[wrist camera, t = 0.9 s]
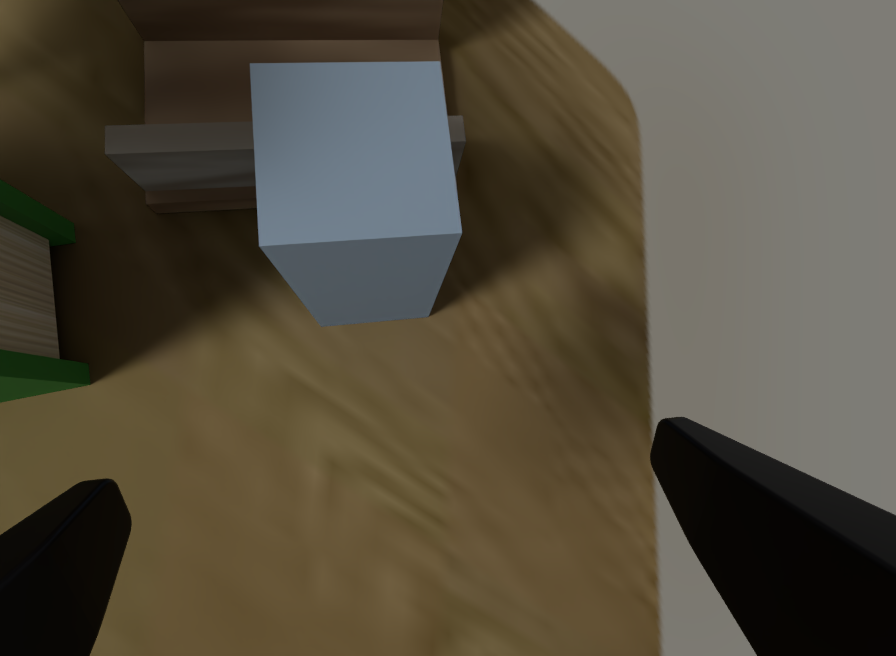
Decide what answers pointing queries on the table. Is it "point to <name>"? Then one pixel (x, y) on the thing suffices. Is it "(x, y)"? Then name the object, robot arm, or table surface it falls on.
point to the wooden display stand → (245, 84)
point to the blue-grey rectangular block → (355, 185)
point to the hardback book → (31, 300)
